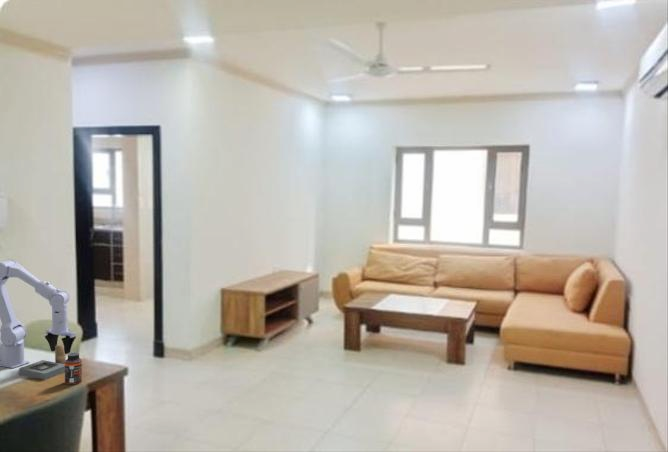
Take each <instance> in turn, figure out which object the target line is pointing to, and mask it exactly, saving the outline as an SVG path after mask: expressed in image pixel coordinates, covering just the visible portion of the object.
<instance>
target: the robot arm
mask: <svg viewBox="0 0 668 452" xmlns="http://www.w3.org/2000/svg"><path fill="white" fill-rule="evenodd" d="M10 278H18V279H19V280H21V281H23V282H24V283H26V284H28V285H30V286H31V287H32V288H34V291H35V293H36V294H38V295H39V296H41V297H43V299H46V301H48V303H49V305H50V306H51V314H52V316H51V317H52V319H51V322H52V328H46V329H45V335H44V338H45V339H46V341H47V343H48V346H49V348H50V351H51V352H55V346H56V345H58V338H59V336H62V337H61V341H62V344H63V345H64V352H65V354H67V355H68V354H70V353H71V349H72V346H73V344H74V341H75V340H76V338H77V337H76V331H72V330H70V328H69V327H68V326H69V325H68V324H69V323H68V302H69V301H70V296H69V293H68V292H67V291H65V290H61V289H59V288H56V287H55V286H54V285H52V284H51V282H50V281H46V280H40V279H39V278H37V277H36V276H35V275H33V274H32V273H31V272H29V271H28V270H27V269H25V267H23V266H22V265H21V264H20V263H18V262H17V261H16V260H14V259H11V258H10V259H9V258H8V259H6V260H3V261H0V322H1V326H0V342H1V344H0V367H5V368H9V369H15V368H17V367H18V368H19V366H23V365H26V364H28V363H29V364H30V361H29V360H25V337H27V334H28V333H27V332H28V331H27V329H26V327H24V326H23V323H22V321H20V320H19V319H17V317H16V316H17V315H16V313H15V310H14V307H13V305H12V302H11V298H10V296H9V293H8V289H7V287H6V283H7V281H8V280H9V279H10Z"/></svg>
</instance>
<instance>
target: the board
mask: <svg viewBox="0 0 668 452" xmlns="http://www.w3.org/2000/svg"><path fill="white" fill-rule="evenodd" d="M43 365H48V366H50V367H47V368H45V369H40V368H37V367H40V366H43ZM63 373H64V374H65V364H61V363H55V361H50V360H43V359H41V360H39V361H36V362H33V363H29V364H28V365H25V366H22V367H18V374H19V376H25V377H30V378H33V379H39V380H45V381H47V380H48V379H51V378H53V377H56V376H59V375H61V374H63Z"/></svg>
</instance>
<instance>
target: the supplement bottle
mask: <svg viewBox="0 0 668 452" xmlns="http://www.w3.org/2000/svg"><path fill="white" fill-rule="evenodd" d="M82 380H83V361H82V358H80V353H78V352H70V353H68V354H67V358H66V361H65V372H64V383H65V385H69V386H71V385H72V386H73V385H77V384H81V382H82Z"/></svg>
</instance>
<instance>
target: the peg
mask: <svg viewBox="0 0 668 452" xmlns="http://www.w3.org/2000/svg"><path fill="white" fill-rule="evenodd" d="M54 353H55V354H54V355H55V356H54V359H55V361H54V362H55V363H61V364H65V361H66V360H67V355H66V354H65V352H64V344H63V343H62V344H57V345H56V346H55V351H54Z"/></svg>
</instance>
